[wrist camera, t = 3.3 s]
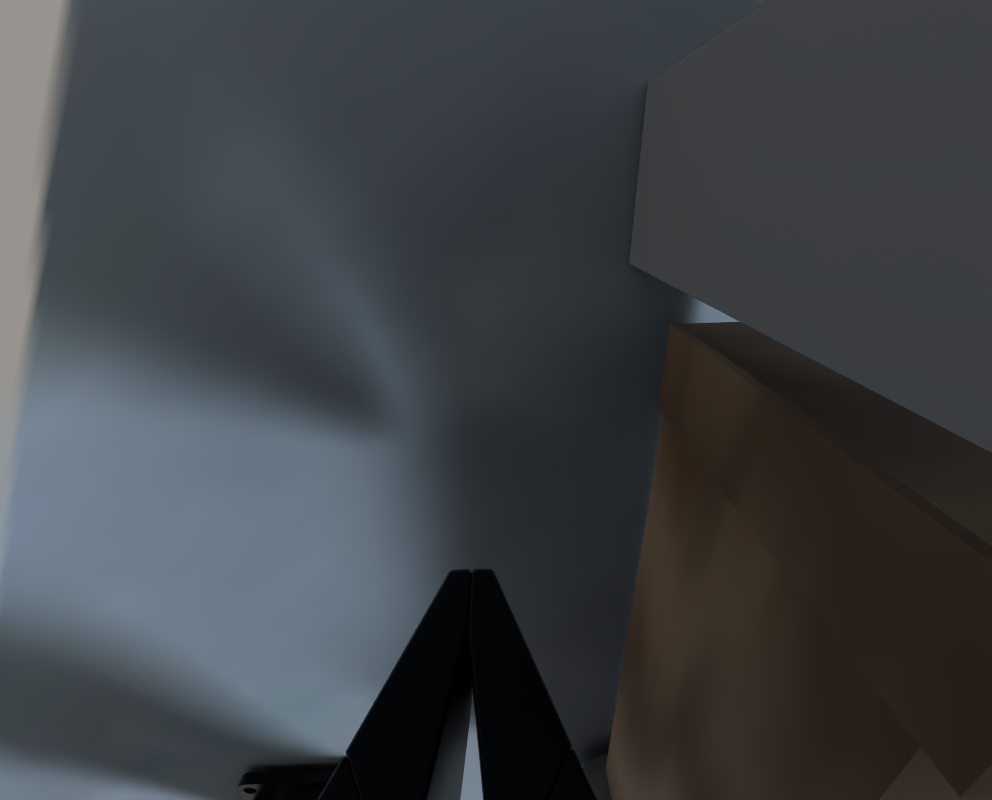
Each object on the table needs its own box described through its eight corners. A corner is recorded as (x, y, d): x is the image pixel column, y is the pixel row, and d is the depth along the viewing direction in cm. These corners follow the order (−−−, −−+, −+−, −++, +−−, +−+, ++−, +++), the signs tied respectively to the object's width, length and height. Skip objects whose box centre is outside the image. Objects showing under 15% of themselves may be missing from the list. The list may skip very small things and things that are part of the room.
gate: (650, 788, 17) (751, 1162, 11) (578, 791, 17) (634, 1165, 11) (778, 312, 9) (1840, 760, 2) (631, 318, 9) (1144, 781, 2)
